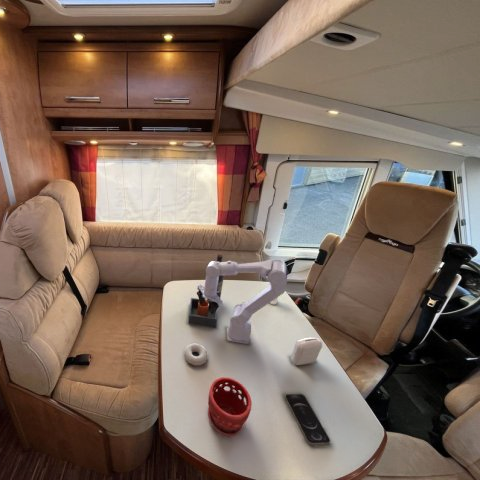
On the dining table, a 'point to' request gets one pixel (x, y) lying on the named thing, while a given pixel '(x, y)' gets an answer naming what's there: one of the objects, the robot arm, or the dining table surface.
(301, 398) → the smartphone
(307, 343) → the photo printer
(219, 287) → the wine bottle
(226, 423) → the flower pot
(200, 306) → the terracotta cup
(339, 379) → the dining table surface
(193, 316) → the tote
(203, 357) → the donut
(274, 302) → the cup
